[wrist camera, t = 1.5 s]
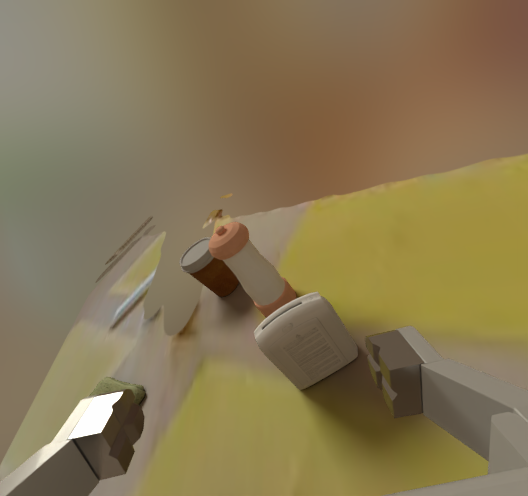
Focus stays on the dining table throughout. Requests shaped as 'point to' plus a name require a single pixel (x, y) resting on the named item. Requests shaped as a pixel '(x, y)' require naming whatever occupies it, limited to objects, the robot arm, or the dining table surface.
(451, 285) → the dining table surface
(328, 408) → the dining table surface
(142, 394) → the washcloth
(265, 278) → the pepper shaker
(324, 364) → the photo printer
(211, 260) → the disposable coffee cup
